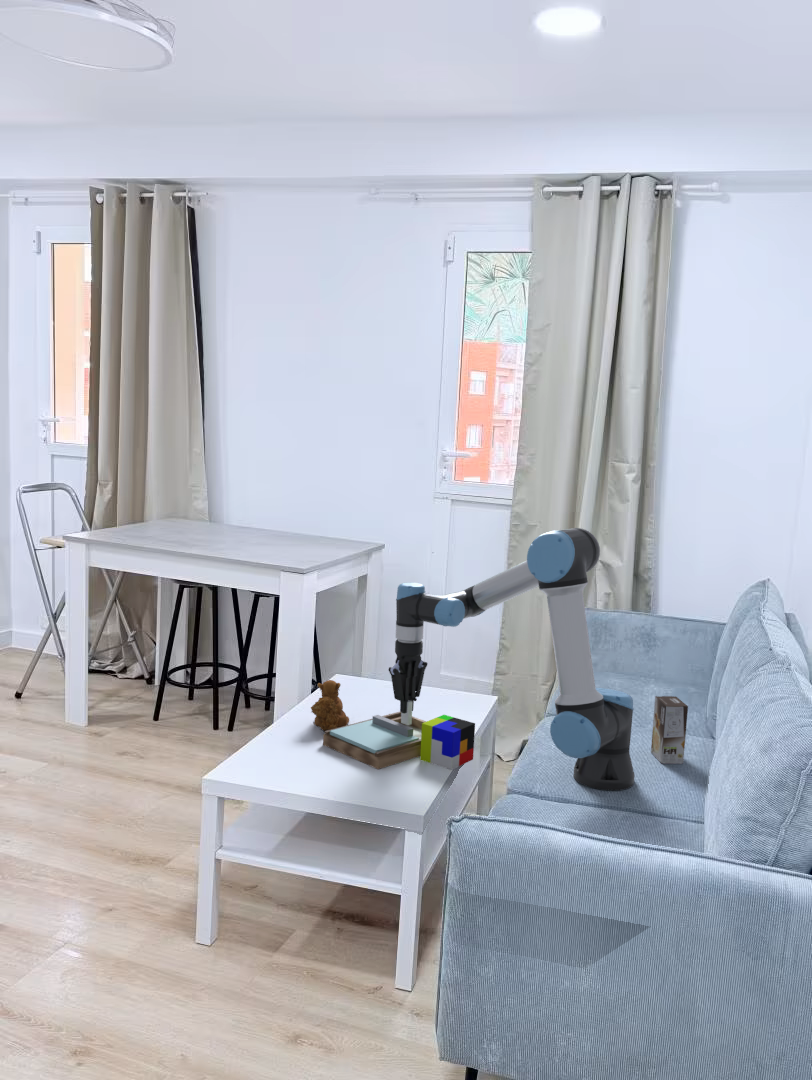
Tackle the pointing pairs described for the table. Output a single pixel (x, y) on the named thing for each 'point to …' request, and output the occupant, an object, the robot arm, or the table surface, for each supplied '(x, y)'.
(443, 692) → the table surface
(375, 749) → the lid
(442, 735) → the puzzle toy
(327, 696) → the brown furry figure
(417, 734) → the wooden box
